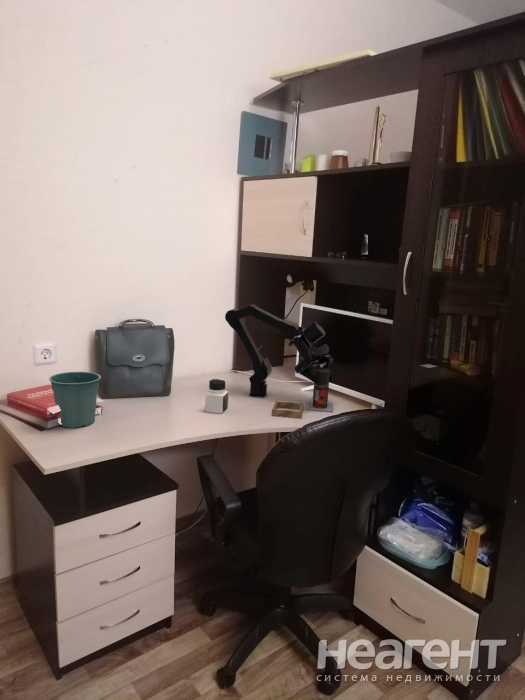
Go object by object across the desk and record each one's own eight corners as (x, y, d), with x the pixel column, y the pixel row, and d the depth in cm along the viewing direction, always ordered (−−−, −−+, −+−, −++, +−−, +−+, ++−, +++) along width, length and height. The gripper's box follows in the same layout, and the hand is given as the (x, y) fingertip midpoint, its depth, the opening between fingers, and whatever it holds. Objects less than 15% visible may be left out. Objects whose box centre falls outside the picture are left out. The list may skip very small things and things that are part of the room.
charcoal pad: (307, 410, 195) (307, 409, 195) (308, 402, 205) (308, 401, 205) (332, 412, 194) (332, 411, 194) (333, 404, 203) (333, 403, 203)
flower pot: (83, 411, 183) (81, 368, 179) (111, 421, 173) (110, 377, 170) (41, 422, 170) (38, 377, 166) (69, 434, 160) (67, 386, 157)
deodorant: (328, 405, 201) (331, 369, 198) (325, 409, 196) (328, 372, 192) (314, 403, 203) (316, 367, 200) (310, 407, 197) (313, 370, 194)
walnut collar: (271, 415, 187) (272, 409, 186) (275, 406, 197) (276, 400, 197) (301, 418, 185) (301, 412, 185) (303, 409, 196) (303, 403, 195)
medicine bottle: (222, 414, 186) (223, 383, 184) (204, 412, 188) (205, 381, 185) (228, 408, 193) (229, 378, 191) (210, 406, 194) (211, 376, 192)
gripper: (302, 340, 190) (323, 374, 184) (331, 335, 203) (351, 367, 198) (285, 356, 197) (305, 389, 191) (314, 351, 210) (334, 381, 205)
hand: (324, 381), depth 196 cm, fingers open, 9 cm apart
